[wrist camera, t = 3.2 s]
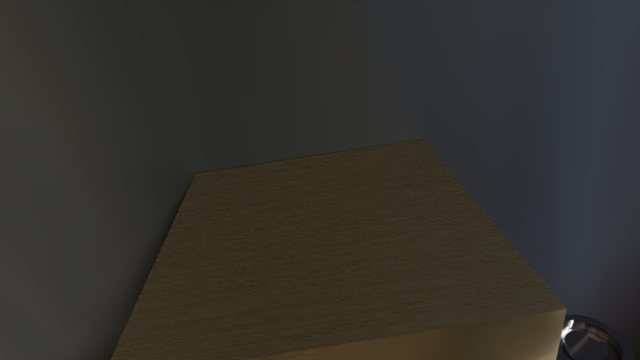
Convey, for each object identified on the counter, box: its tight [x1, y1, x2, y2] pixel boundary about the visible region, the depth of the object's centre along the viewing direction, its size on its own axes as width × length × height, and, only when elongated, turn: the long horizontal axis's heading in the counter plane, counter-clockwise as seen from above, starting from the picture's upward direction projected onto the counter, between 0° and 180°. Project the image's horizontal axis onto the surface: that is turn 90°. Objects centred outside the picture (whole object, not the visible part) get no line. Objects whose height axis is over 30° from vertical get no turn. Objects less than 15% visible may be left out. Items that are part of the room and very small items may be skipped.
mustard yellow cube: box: [111, 139, 567, 360], centre depth 9 cm, size 6×6×6 cm
